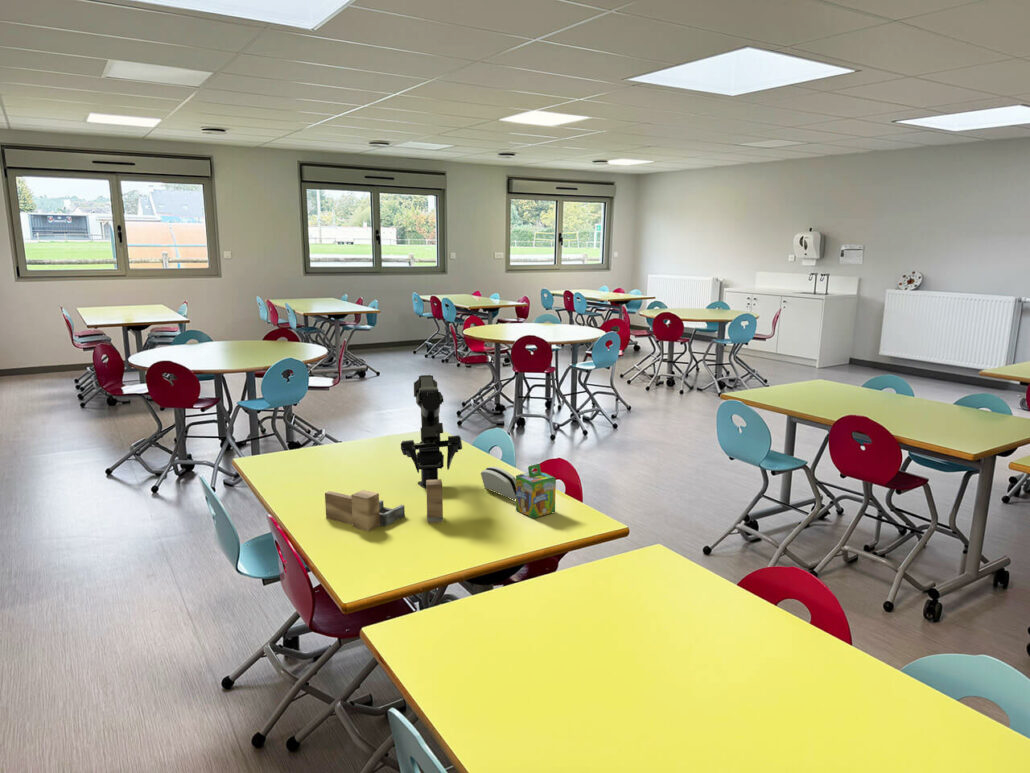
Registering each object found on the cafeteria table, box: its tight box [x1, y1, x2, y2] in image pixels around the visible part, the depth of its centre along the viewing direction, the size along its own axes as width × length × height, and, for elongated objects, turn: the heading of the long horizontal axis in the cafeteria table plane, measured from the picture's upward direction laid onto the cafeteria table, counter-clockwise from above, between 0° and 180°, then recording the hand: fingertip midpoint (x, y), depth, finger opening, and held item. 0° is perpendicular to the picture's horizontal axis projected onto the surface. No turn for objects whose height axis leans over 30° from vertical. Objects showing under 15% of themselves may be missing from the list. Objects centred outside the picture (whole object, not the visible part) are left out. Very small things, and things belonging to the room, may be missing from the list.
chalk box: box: [515, 463, 557, 519], centre depth 215 cm, size 9×9×15 cm
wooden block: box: [425, 478, 444, 524], centre depth 208 cm, size 5×5×12 cm
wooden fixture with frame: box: [324, 489, 406, 532], centre depth 210 cm, size 14×20×10 cm
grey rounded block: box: [480, 466, 516, 501], centre depth 232 cm, size 17×5×10 cm, turn 39°
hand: (433, 470), depth 216 cm, fingers open, 9 cm apart
